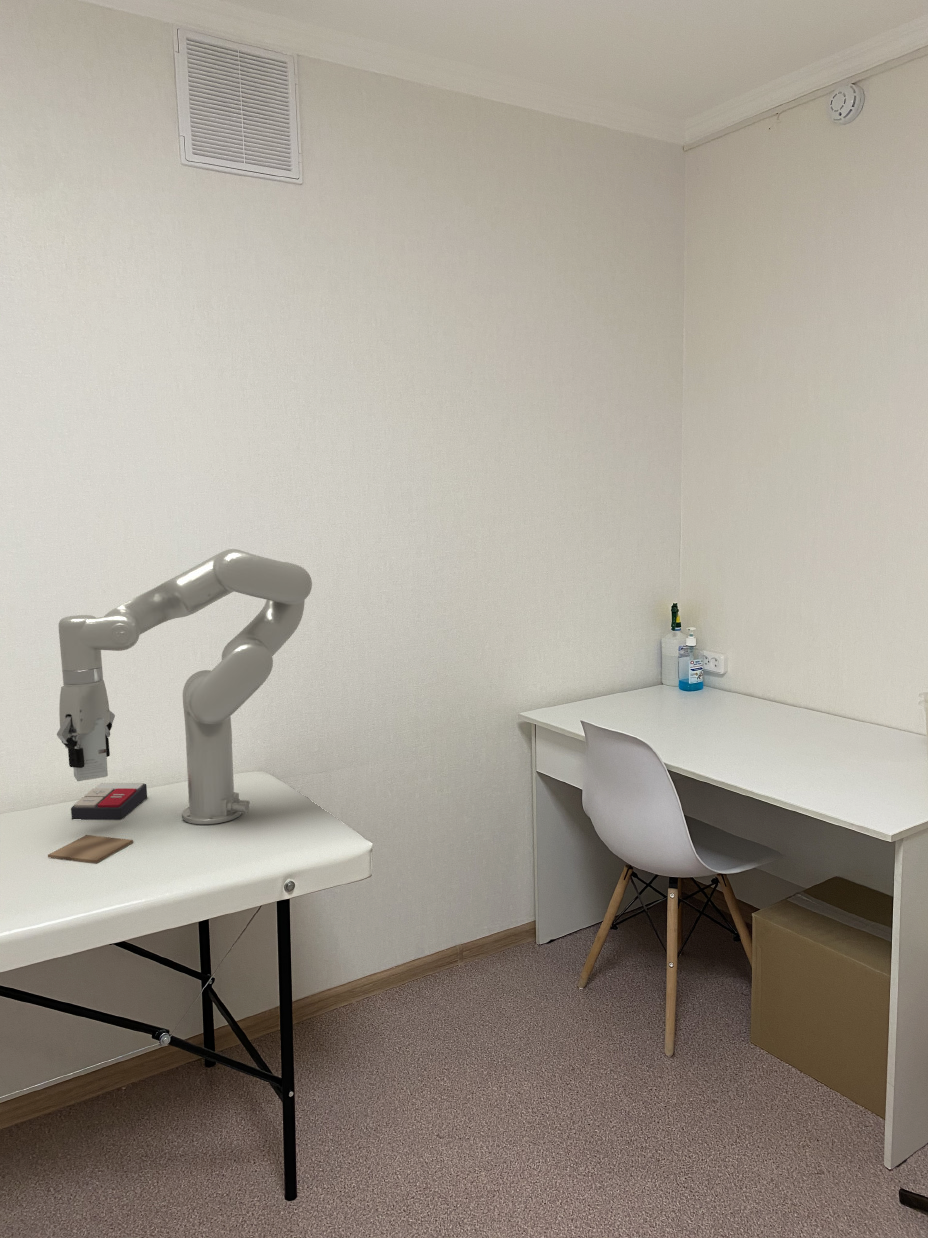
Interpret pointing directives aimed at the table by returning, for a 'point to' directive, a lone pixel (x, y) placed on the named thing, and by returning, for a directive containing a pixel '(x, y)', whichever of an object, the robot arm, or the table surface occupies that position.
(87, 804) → the black and red case
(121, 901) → the table surface
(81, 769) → the skincare box
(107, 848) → the walnut board
